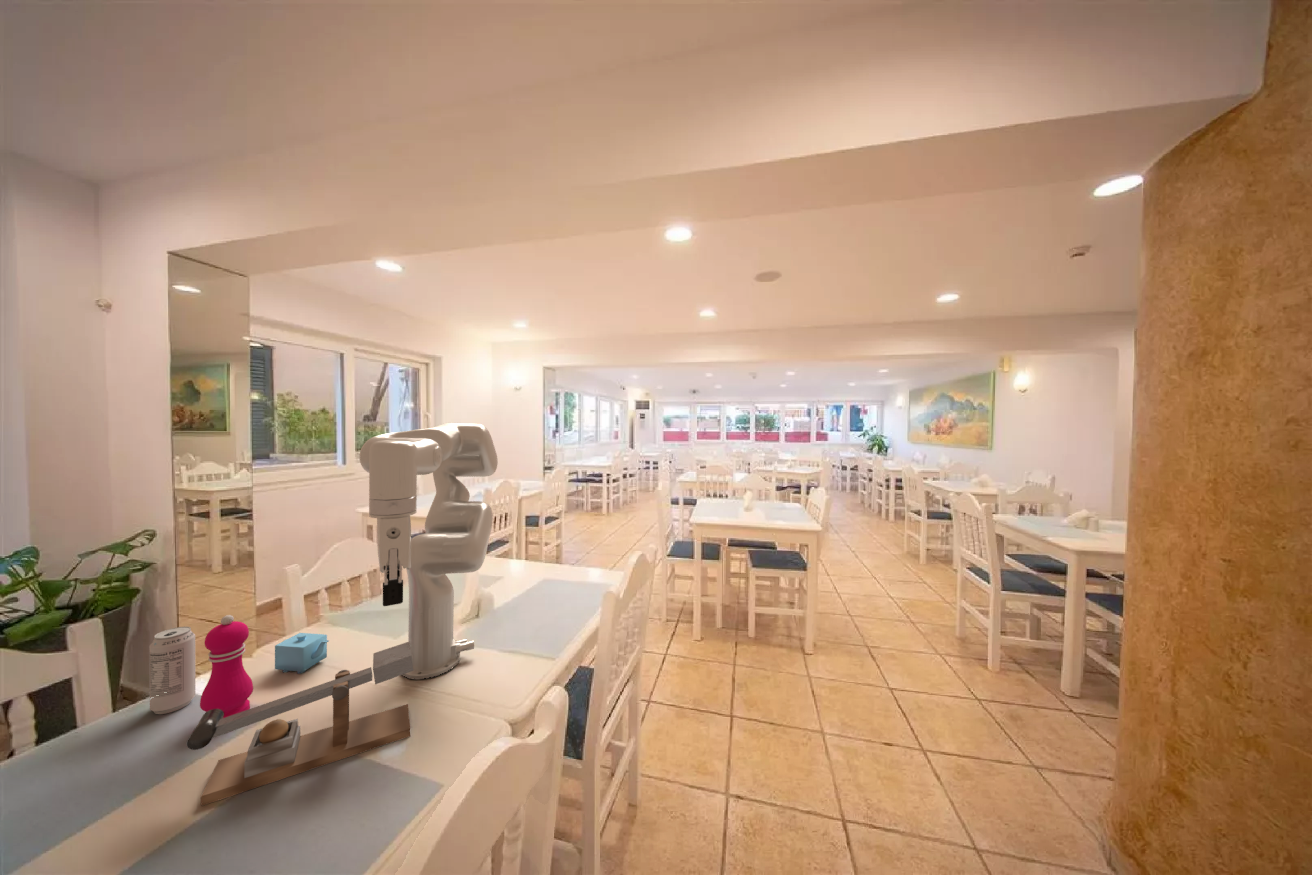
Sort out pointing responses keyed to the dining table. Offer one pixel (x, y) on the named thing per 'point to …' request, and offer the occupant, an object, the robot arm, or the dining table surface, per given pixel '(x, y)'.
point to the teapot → (300, 652)
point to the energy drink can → (172, 670)
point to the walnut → (273, 731)
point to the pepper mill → (227, 669)
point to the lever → (302, 696)
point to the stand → (306, 747)
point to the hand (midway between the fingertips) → (392, 603)
